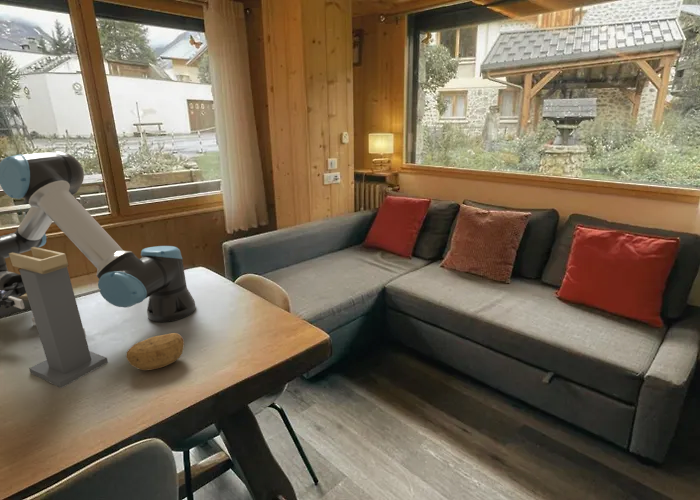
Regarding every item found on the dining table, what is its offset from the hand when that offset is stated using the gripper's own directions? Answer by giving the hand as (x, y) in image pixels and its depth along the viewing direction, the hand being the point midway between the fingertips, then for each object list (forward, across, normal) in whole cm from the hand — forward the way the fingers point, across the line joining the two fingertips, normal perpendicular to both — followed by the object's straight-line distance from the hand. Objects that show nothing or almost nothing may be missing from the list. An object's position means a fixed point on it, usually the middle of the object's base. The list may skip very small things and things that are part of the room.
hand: (47, 295), depth 125 cm
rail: (-1, -1, -13) cm, 13 cm away
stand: (+24, +10, -12) cm, 29 cm away
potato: (+45, -1, -13) cm, 47 cm away
